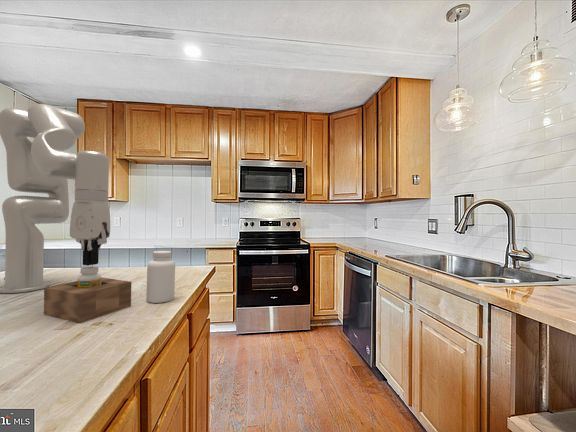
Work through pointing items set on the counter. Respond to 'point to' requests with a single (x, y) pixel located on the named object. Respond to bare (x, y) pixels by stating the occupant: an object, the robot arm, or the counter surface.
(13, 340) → the counter surface
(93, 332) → the counter surface
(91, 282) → the supplement bottle
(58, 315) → the socket block
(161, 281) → the pill bottle
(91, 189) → the robot arm
